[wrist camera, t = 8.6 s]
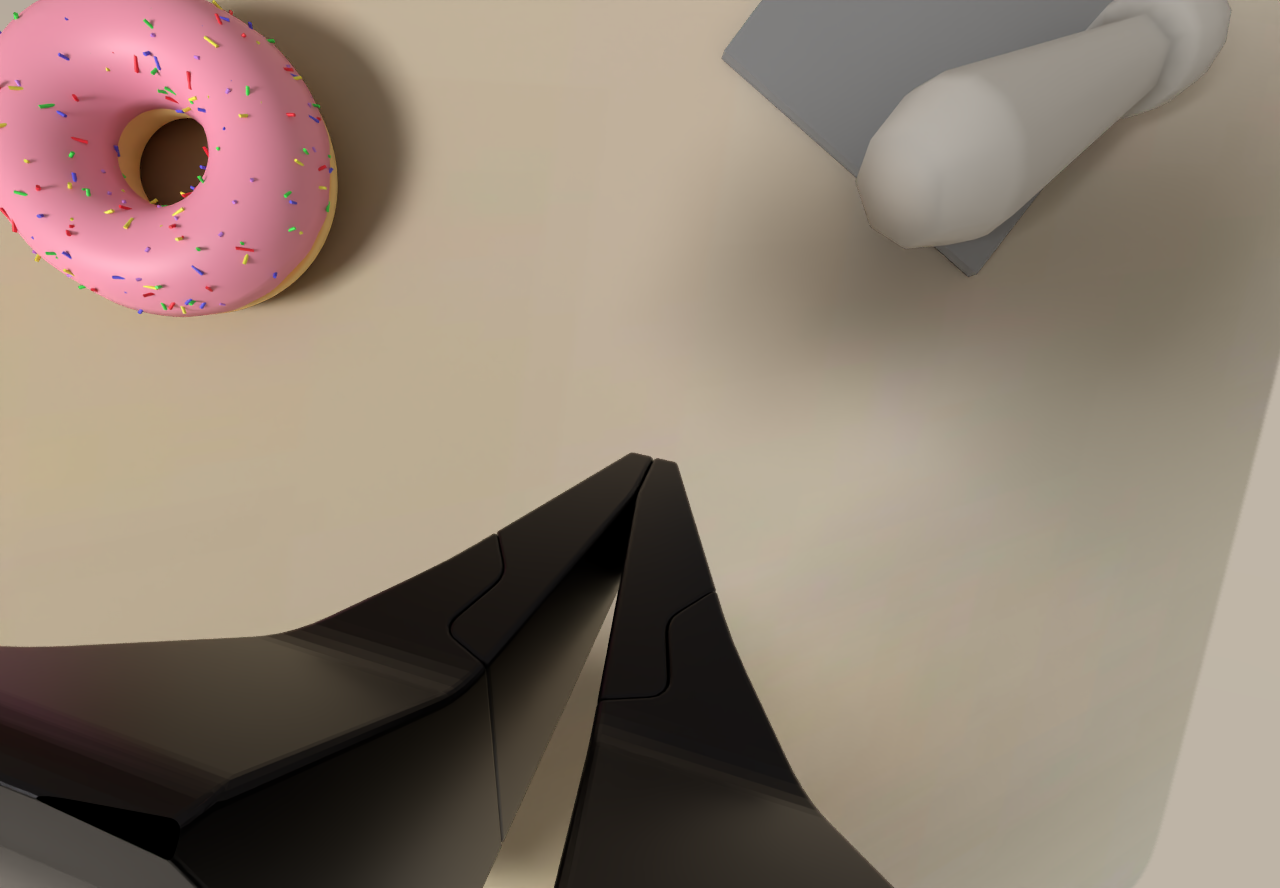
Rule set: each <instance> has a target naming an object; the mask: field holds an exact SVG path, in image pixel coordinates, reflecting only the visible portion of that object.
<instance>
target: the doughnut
mask: <svg viewBox="0 0 1280 888" xmlns="http://www.w3.org/2000/svg"><path fill="white" fill-rule="evenodd" d="M212 3H213V4H212ZM212 3H210V2H208V1H206V0H39V1H37V2H35V3H33V4H32V5H31V6H29V7H28V8H26V9H25V10H24V11H22V12H21V13H20V14H19V15H18V14H17V13H15V12H14V13H13V14H14V19H13V20H12V21H11V22H10V23H9V24H8V26H7V27H6V28H5V29H4V30H3V31H2V32H1V31H0V211H1V212H2V213H3V214H4V215H5V216H6V217H7V219H8V220H9V221H10V223H11V224H12V231H13V232H18V233H19V234H20V235H21V237H22V238H23V239H24V240H25V241H26V242H27V243H28V245H29V246H30V247H31V248H32V249H33V251H32V253H35V254H37V256H36V258H35V259H34V260H35V261H37V262H39V260H40V258H41V257H42V258H43V259H44V260H46V261H47V262H48V263H49V264H51V265H52V266H54V267H55V268H56V269H58V270H59V271H61V272H62V273H64V274H65V275H66V276H67V277H70V278H72V279H73V280H75V281H77V282H78V283H80V284H82V285H81V286H78V287H79V289H83V288H88V289H90V290H91V291H93V292H95V293H97V294H99V295H101V296H103V297H105V298H107V299H109V300H111V301H113V302H115V303H117V304H119V305H122V306H125V307H128V308H131V309H134V310H138V313H139V314H141V313H142V312H146V313H151V314H157V315H163V316H173V317H190V316H201V315H209V314H220V313H227V312H233V311H237V310H241V309H245V308H248V307H251V306H254V305H256V304H259V303H261V302H263V301H266V300H268V299H270V298H271V297H273V296H275V295H277V294H278V293H280V292H281V291H283V290H284V289H286V288H287V287H288V286H290V285H291V284H292V283H293V282H295V281H296V280H297V279H298V278H299V277H300V276H301V275H302V274H303V273H304V272H305V271H306V270H307V269H308V267H309V266H310V265H311V264H312V262H313V261H314V260H315V258H316V257H317V255H318V254H319V252H320V250H321V248H322V247H323V245H324V243H325V241H326V238H327V236H328V234H329V231H330V228H331V225H332V222H333V218H334V214H335V209H336V203H337V192H338V177H337V166H336V159H335V154H334V150H333V146H332V142H331V139H330V136H329V133H328V130H327V127H326V125H325V123H324V120H323V118H322V116H321V114H320V112H319V110H318V108H320V105H319V104H316V103H315V101H314V99H313V97H312V95H311V93H310V91H309V89H308V88H307V86H306V84H305V83H304V81H303V80H302V77H301V76H300V75H299V74H298V73H297V71H296V70H295V69H294V67H293V66H292V65H291V63H290V62H289V61H288V60H287V59H286V57H285V56H284V55H283V54H282V53H281V52H280V51H279V50H278V49H277V48H276V47H275V46H274V45H273V44H272V43H275V40H274V39H266V38H265V37H264V36H262V35H261V34H260V33H258V32H257V31H255V30H254V29H253V28H252V23H251V22H248V25H249V26H248V25H247V24H245V23H244V22H242V21H241V20H239V19H238V18H236V17H235V16H233V12H232V11H231V10H229V13H228V12H226V11H225V10H223V9H222V8H221V7H220V6H219V5H218V4H217V3H216V1H215V0H213V1H212ZM181 118H193V119H195V120H196V121H197V122H199V123H200V124H201V125H202V126H203V128H204V130H205V133H206V137H207V141H208V149H209V151H208V150H207V148H206V147H205V146H204V147H202V148H203V149H204V151H205V153H206V154H207V156H208V163H207V166H201V165H200V168H201V169H206V170H205V173H204V175H203V177H201V176H198V177H197V178H198V179H199V180H200V183H199V184H198V186H196V188H195V187H193V186H190V188H191V189H193V190H194V191H193V192H189V193H184V192H180V194H181V195H182V197H186V198H184V199H183V200H181V201H179V202H177V203H175V204H172V205H169V206H168V205H161V206H160V205H155V203H156V202H158V200H157V199H154V200H152V201H151V202H150V201H149V199H148V198H147V196H146V194H145V192H144V190H143V187H142V184H141V179H140V161H141V156H142V153H143V150H144V148H145V146H146V144H147V142H148V140H149V139H150V138H151V136H152V135H153V134H154V133H155V132H156V131H157V130H158V129H159V128H161V127H162V126H163V125H165V124H167V123H169V122H171V121H173V120H177V119H181Z"/></svg>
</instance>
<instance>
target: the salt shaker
mask: <svg viewBox="0 0 1280 888" xmlns="http://www.w3.org/2000/svg"><path fill="white" fill-rule="evenodd" d="M1230 16H1231V8H1230V6H1229V4H1228V1H1227V0H1114V1H1112V2H1111V3H1110V4H1109V5H1108V6H1107V7H1106V8H1105V9H1104V10H1103V11H1102V12H1101V13H1100V15H1099V16H1098V17H1097V18H1096V19H1095V20H1094V21H1093V22H1092V23H1091V25H1090V26H1089V27H1088V28H1087V29H1086V30H1085V31H1082V32H1079V33H1075V34H1072V35H1068V36H1065V37H1061V38H1058V39H1055V40H1051V41H1048V42H1044V43H1041V44H1037V45H1034V46H1030V47H1027V48H1023V49H1020V50H1016V51H1013V52H1009V53H1006V54H1002V55H999V56H995V57H992V58H988V59H985V60H981V61H978V62H974V63H971V64H967V65H964V66H960V67H957V68H953V69H950V70H946V71H944V72H942V73H941V74H939V75H937V76H935V77H934V78H932V79H930V80H928V81H927V82H925V83H923V84H921V85H920V86H918V87H916V88H915V89H913V90H912V91H911V92H910V93H908V94H907V95H906V96H904V98H903V99H902V100H901V102H900V103H899V104H898V105H897V107H896V108H895V109H894V110H893V112H892V113H891V114H890V116H889V117H888V118H887V119H886V121H885V122H884V123H883V124H882V126H881V127H880V128H879V130H878V131H877V132H876V133H875V135H874V136H873V137H872V138H871V140H870V143H869V145H868V148H867V151H866V154H865V157H864V159H863V162H862V165H861V168H860V170H859V173H858V176H857V179H856V181H855V182H856V185H857V188H858V191H859V194H860V197H861V200H862V203H863V206H864V209H865V212H866V215H867V218H868V221H869V224H870V227H871V228H873V229H875V230H876V231H878V232H879V233H881V234H882V235H884V236H885V237H887V238H889V239H890V240H892V241H893V242H895V243H896V244H898V245H900V246H901V247H903V248H904V249H909V248H920V247H932V246H943V245H950V244H955V243H960V242H965V241H969V240H974V239H977V238H980V237H983V236H985V235H988V234H989V233H990V232H992V231H993V230H994V229H996V228H997V227H998V226H999V225H1001V224H1002V223H1003V222H1005V221H1006V220H1007V219H1008V218H1010V217H1011V216H1012V215H1014V214H1015V213H1016V212H1017V211H1018V210H1019V209H1020V208H1021V207H1023V206H1024V205H1025V204H1026V203H1027V202H1028V201H1029V200H1030V199H1031V198H1032V197H1034V196H1035V195H1036V194H1037V193H1038V192H1039V191H1040V190H1041V189H1042V188H1044V187H1045V186H1046V185H1047V184H1048V183H1049V182H1050V181H1051V180H1052V179H1053V178H1055V177H1056V176H1057V175H1058V174H1059V173H1060V172H1061V171H1062V170H1063V169H1064V168H1066V167H1067V166H1068V165H1069V164H1070V163H1071V162H1072V161H1073V160H1074V159H1076V158H1077V157H1078V156H1079V155H1080V154H1081V153H1082V152H1083V151H1084V150H1085V149H1087V148H1088V147H1089V146H1090V145H1091V144H1092V143H1093V142H1094V141H1095V140H1096V139H1098V138H1099V137H1100V136H1101V135H1102V134H1103V133H1104V132H1105V131H1106V130H1107V129H1109V128H1110V127H1111V126H1112V125H1113V124H1114V123H1115V122H1116V121H1117V120H1119V119H1120V118H1129V117H1132V116H1135V115H1138V114H1141V113H1143V112H1146V111H1149V110H1152V109H1155V108H1157V107H1160V106H1162V105H1164V104H1166V103H1168V102H1170V101H1171V100H1172V99H1173V98H1175V97H1176V96H1177V95H1179V94H1180V93H1181V92H1182V91H1184V90H1185V89H1186V88H1188V87H1189V86H1190V85H1192V84H1193V83H1194V82H1195V81H1197V80H1198V79H1199V78H1200V77H1201V76H1202V75H1203V74H1204V73H1206V72H1207V71H1208V69H1209V68H1210V66H1211V64H1212V63H1213V61H1214V60H1215V58H1216V56H1217V55H1218V53H1219V52H1220V50H1221V48H1222V47H1223V45H1224V44H1225V42H1226V38H1227V32H1228V27H1229V21H1230Z"/></svg>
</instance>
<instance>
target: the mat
mask: <svg viewBox="0 0 1280 888" xmlns="http://www.w3.org/2000/svg"><path fill="white" fill-rule="evenodd" d="M1112 1H1114V0H762V1H761V2H760V3H759V5H758V6H757V7H756V9H755V10H754V11H753V13H752V14H751V15H750V17H749V18H748V19H747V21H746V22H745V23H744V25H743V26H742V27H741V29H740V30H739V32H738V33H737V34H736V36H735V37H734V38H733V40H732V41H731V42H730V44H729V45H728V46H727V48H726V49H725V50H724V53H723V56H722V59H723V60H724V61H725V62H726V63H727V64H728V65H729V66H731V67H732V68H733V69H734V70H735V71H736V72H737V73H739V74H740V75H741V76H742V77H743V78H744V79H745V80H746V81H748V82H749V83H750V84H751V85H752V86H753V87H754V88H756V89H757V90H758V91H759V92H760V93H761V94H762V95H763V96H765V97H766V98H767V99H768V100H769V101H770V102H771V103H772V104H774V105H775V106H776V107H777V108H778V109H779V110H780V111H782V112H783V113H784V114H785V115H786V116H787V117H788V118H789V119H791V120H792V121H793V122H794V123H795V124H796V125H797V126H799V127H800V128H801V129H802V130H803V131H804V132H805V133H806V134H808V135H809V136H810V137H811V138H812V139H813V140H814V141H815V142H817V143H818V144H819V145H820V146H821V147H822V148H823V149H825V150H826V151H827V152H828V153H829V154H830V155H831V156H832V157H834V158H835V159H836V160H837V161H838V162H839V163H840V164H842V165H843V166H844V167H845V168H846V169H847V170H848V171H849V172H851V173H852V174H853V175H854V176H855V177H856V178H857V176H858V173H859V170H860V168H861V165H862V162H863V159H864V157H865V154H866V151H867V148H868V145H869V143H870V140H871V138H872V137H873V136H874V135H875V133H876V132H877V131H878V130H879V128H880V127H881V126H882V124H883V123H884V122H885V121H886V119H887V118H888V117H889V116H890V114H891V113H892V112H893V110H894V109H895V108H896V107H897V105H898V104H899V103H900V102H901V100H902V99H903V98H904V96H906V95H907V94H908V93H910V92H911V91H912V90H913V89H915V88H916V87H918V86H920V85H921V84H923V83H925V82H927V81H928V80H930V79H932V78H934V77H935V76H937V75H939V74H941V73H942V72H944V71H946V70H950V69H953V68H957V67H960V66H964V65H967V64H971V63H974V62H978V61H981V60H985V59H988V58H992V57H995V56H999V55H1002V54H1006V53H1009V52H1013V51H1016V50H1020V49H1023V48H1027V47H1030V46H1034V45H1037V44H1041V43H1044V42H1048V41H1051V40H1055V39H1058V38H1061V37H1065V36H1068V35H1072V34H1075V33H1079V32H1082V31H1085V30H1086V29H1087V28H1088V27H1089V26H1090V25H1091V23H1092V22H1093V21H1094V20H1095V19H1096V18H1097V17H1098V16H1099V15H1100V13H1101V12H1102V11H1103V10H1104V9H1105V8H1106V7H1107V6H1108V5H1109V4H1110V3H1111V2H1112ZM1042 189H1043V188H1042ZM1042 189H1041V190H1042ZM1041 190H1040V191H1039V192H1038V193H1037V194H1036V195H1035V196H1034V197H1032V198H1031V199H1030V200H1029V201H1028V202H1027V203H1026V204H1025V205H1024V206H1023V207H1021V208H1020V209H1019V210H1018V211H1017V212H1016V213H1015V214H1014V215H1012V216H1011V217H1010V218H1008V219H1007V220H1006V221H1005V222H1003V223H1002V224H1001V225H999V226H998V227H997V228H996V229H994V230H993V231H992V232H990V233H989V234H988V235H985V236H983V237H980V238H977V239H974V240H969V241H965V242H960V243H955V244H950V245H943V246H934V247H935V248H937V249H938V250H939V251H940V252H941V253H942V254H943V255H945V256H946V257H947V258H948V259H949V260H950V261H951V262H952V263H954V264H955V265H956V266H957V267H958V268H959V269H960V270H961V271H963V272H964V273H965V274H966V275H967V276H968V277H969V276H972V275H975V274H977V273H978V272H979V271H980V269H981V268H982V267H983V265H984V264H985V263H986V261H987V260H988V259H989V258H990V256H991V255H992V254H993V252H994V251H995V250H996V249H997V247H998V246H999V245H1000V243H1001V242H1002V241H1003V239H1004V238H1005V237H1006V236H1007V234H1008V233H1009V232H1010V230H1011V229H1012V228H1013V227H1014V225H1015V224H1016V223H1017V221H1018V220H1019V219H1020V217H1021V216H1022V215H1023V214H1024V212H1025V211H1026V210H1027V208H1028V207H1029V206H1030V205H1031V203H1032V202H1033V201H1034V199H1035V198H1036V197H1037V196H1038V194H1039V193H1040V192H1041Z"/></svg>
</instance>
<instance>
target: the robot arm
mask: <svg viewBox="0 0 1280 888" xmlns="http://www.w3.org/2000/svg"><path fill="white" fill-rule="evenodd" d="M618 589H619V590H618ZM617 591H618V595H617V600H616V606H615V611H614V616H613V622H612V627H611V632H610V638H609V643H608V648H607V654H606V659H605V664H604V670H603V675H602V680H601V686H600V691H599V696H598V703H597V707H596V712H595V717H594V722H593V728H592V732H591V737H590V742H589V747H588V751H587V755H586V760H585V764H584V768H583V772H582V776H581V780H580V784H579V788H578V792H577V796H576V800H575V804H574V808H573V812H572V816H571V820H570V824H569V828H568V832H567V837H566V841H565V845H564V849H563V853H562V857H561V861H560V865H559V869H558V873H557V877H556V881H555V885H554V888H894V887H893V886H892V885H891V884H890V883H889V882H888V881H887V880H886V879H885V878H884V877H883V876H882V875H881V874H880V873H879V872H878V871H877V870H876V869H875V868H874V867H873V866H872V865H871V864H870V863H869V862H868V861H867V860H866V859H865V858H864V857H863V856H862V855H861V854H860V853H859V852H858V851H857V850H856V849H855V848H854V847H853V846H852V845H851V844H850V843H849V842H848V841H847V840H846V839H845V838H844V837H843V836H842V835H841V834H840V833H839V832H838V831H837V830H836V829H835V828H834V827H833V826H832V825H831V824H830V823H829V822H828V821H827V820H826V818H825V817H824V816H823V815H822V814H821V813H820V812H819V810H818V809H817V808H816V806H815V805H814V804H813V803H812V801H811V800H810V798H809V797H808V795H807V794H806V792H805V791H804V789H803V788H802V786H801V785H800V783H799V781H798V779H797V778H796V776H795V774H794V772H793V770H792V768H791V766H790V764H789V762H788V760H787V758H786V756H785V754H784V752H783V750H782V748H781V745H780V743H779V741H778V739H777V737H776V735H775V733H774V730H773V728H772V726H771V724H770V722H769V720H768V718H767V715H766V713H765V711H764V709H763V707H762V705H761V703H760V700H759V698H758V696H757V694H756V692H755V690H754V688H753V685H752V683H751V681H750V679H749V677H748V675H747V673H746V670H745V668H744V666H743V663H742V661H741V659H740V656H739V654H738V652H737V649H736V647H735V645H734V642H733V640H732V637H731V634H730V631H729V629H728V626H727V623H726V620H725V617H724V614H723V611H722V608H721V605H720V601H719V598H718V595H717V593H715V592H716V589H715V586H714V583H713V579H712V576H711V573H710V570H709V566H708V563H707V560H706V556H705V553H704V550H703V547H702V543H701V540H700V537H699V534H698V530H697V527H696V524H695V520H694V517H693V514H692V511H691V507H690V504H689V501H688V497H687V494H686V491H685V488H684V484H683V481H682V478H681V475H680V471H679V468H678V465H677V464H676V463H675V462H672V461H667V460H663V459H659V458H656V459H654V460H653V458H652V457H650V456H646V455H642V454H637V453H629V454H628V455H626V456H624V457H623V458H621V459H619V460H617V461H616V462H614V463H612V464H611V465H609V466H607V467H606V468H604V469H602V470H601V471H599V472H597V473H596V474H594V475H592V476H590V477H589V478H587V479H585V480H584V481H582V482H580V483H579V484H577V485H575V486H574V487H572V488H570V489H569V490H567V491H565V492H563V493H562V494H560V495H558V496H557V497H555V498H553V499H552V500H550V501H548V502H547V503H545V504H543V505H542V506H540V507H538V508H536V509H535V510H533V511H531V512H530V513H528V514H526V515H525V516H523V517H521V518H520V519H518V520H516V521H515V522H513V523H511V524H509V525H508V526H506V527H504V528H503V529H501V530H499V531H498V532H497V535H496V534H492V535H491V536H489V537H487V538H485V539H484V540H482V541H480V542H479V543H477V544H475V545H473V546H472V547H470V548H468V549H466V550H465V551H463V552H461V553H459V554H457V555H456V556H454V557H452V558H450V559H448V560H446V561H444V562H442V563H440V564H438V565H436V566H434V567H432V568H430V569H428V570H426V571H424V572H422V573H420V574H418V575H416V576H414V577H412V578H410V579H408V580H406V581H404V582H402V583H399V584H397V585H395V586H393V587H391V588H389V589H387V590H385V591H382V592H380V593H378V594H376V595H374V596H372V597H370V598H367V599H365V600H363V601H361V602H359V603H357V604H355V605H353V606H350V607H348V608H346V609H344V610H342V611H340V612H338V613H336V614H333V615H331V616H329V617H327V618H325V619H322V620H320V621H317V622H315V623H313V624H310V625H307V626H304V627H301V628H298V629H295V630H291V631H287V632H283V633H278V634H272V635H266V636H256V637H239V638H219V639H199V640H179V641H159V642H139V643H119V644H99V645H78V646H54V647H10V646H0V888H483V886H484V884H485V881H486V879H487V877H488V875H489V873H490V870H491V868H492V866H493V864H494V862H495V860H496V857H497V855H498V853H499V851H500V849H501V846H502V844H501V842H503V841H504V839H505V837H506V835H507V833H508V831H509V828H510V826H511V824H512V822H513V820H514V817H515V815H516V813H517V811H518V809H519V806H520V804H521V802H522V800H523V798H524V795H525V793H526V791H527V789H528V787H529V784H530V782H531V780H532V778H533V776H534V773H535V771H536V769H537V767H538V765H539V763H540V760H541V758H542V756H543V754H544V752H545V749H546V747H547V745H548V743H549V741H550V738H551V736H552V734H553V732H554V730H555V727H556V725H557V723H558V721H559V719H560V716H561V714H562V712H563V710H564V708H565V705H566V703H567V701H568V699H569V697H570V694H571V692H572V690H573V688H574V686H575V683H576V681H577V679H578V677H579V675H580V672H581V670H582V668H583V666H584V664H585V661H586V659H587V657H588V655H589V653H590V650H591V648H592V646H593V644H594V642H595V639H596V637H597V635H598V633H599V631H600V629H601V626H602V624H603V622H604V620H605V618H606V615H607V613H608V611H609V609H610V607H611V604H612V602H613V600H614V598H615V596H616V593H617Z"/></svg>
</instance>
